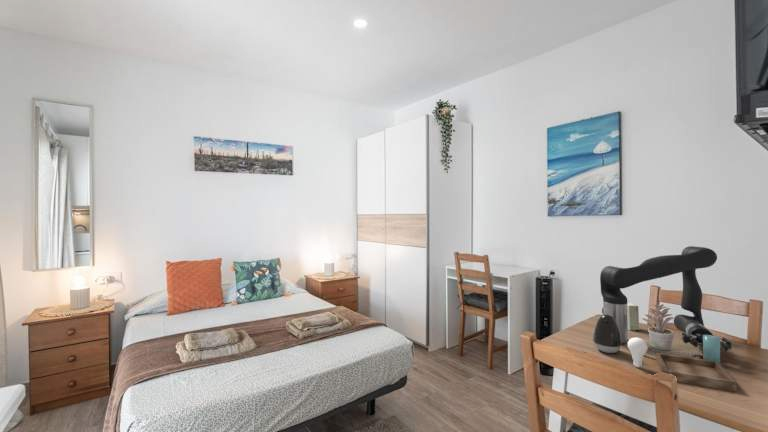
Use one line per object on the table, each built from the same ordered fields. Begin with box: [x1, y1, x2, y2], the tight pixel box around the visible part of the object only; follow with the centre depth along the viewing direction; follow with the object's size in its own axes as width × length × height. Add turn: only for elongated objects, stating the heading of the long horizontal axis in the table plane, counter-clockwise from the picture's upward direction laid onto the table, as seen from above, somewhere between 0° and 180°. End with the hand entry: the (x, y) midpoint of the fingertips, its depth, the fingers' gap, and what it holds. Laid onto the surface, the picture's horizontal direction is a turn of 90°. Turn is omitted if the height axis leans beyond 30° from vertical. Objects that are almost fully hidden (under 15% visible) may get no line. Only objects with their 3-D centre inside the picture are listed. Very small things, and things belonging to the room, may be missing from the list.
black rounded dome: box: [592, 314, 623, 354], centre depth 146 cm, size 10×10×15 cm
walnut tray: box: [655, 352, 737, 393], centre depth 124 cm, size 18×18×3 cm
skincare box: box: [627, 302, 640, 331], centre depth 174 cm, size 6×4×12 cm
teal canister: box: [702, 335, 721, 365], centre depth 133 cm, size 5×5×10 cm
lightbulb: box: [627, 337, 649, 369], centre depth 130 cm, size 6×6×11 cm
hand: (711, 346), depth 134 cm, fingers open, 8 cm apart
